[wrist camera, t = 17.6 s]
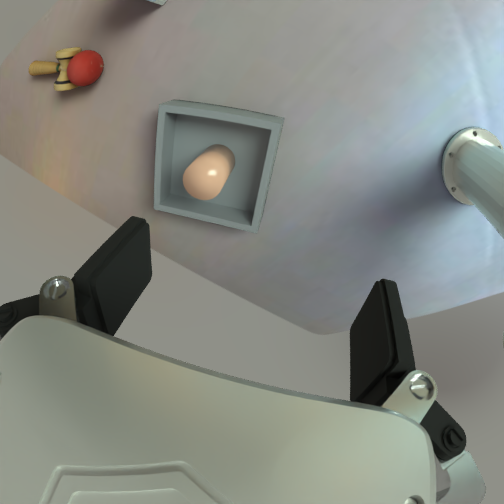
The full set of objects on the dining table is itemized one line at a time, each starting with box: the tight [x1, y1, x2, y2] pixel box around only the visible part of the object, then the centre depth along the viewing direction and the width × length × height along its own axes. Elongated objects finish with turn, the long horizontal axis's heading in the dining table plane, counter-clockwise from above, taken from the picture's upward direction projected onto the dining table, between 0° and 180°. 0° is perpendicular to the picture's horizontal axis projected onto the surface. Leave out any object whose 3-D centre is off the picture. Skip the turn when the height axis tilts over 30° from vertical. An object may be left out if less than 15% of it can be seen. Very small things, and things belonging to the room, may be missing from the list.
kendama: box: [29, 47, 104, 91], centre depth 34 cm, size 8×6×18 cm
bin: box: [154, 100, 284, 234], centre depth 40 cm, size 16×16×5 cm
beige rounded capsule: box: [183, 144, 235, 200], centre depth 38 cm, size 5×5×8 cm
